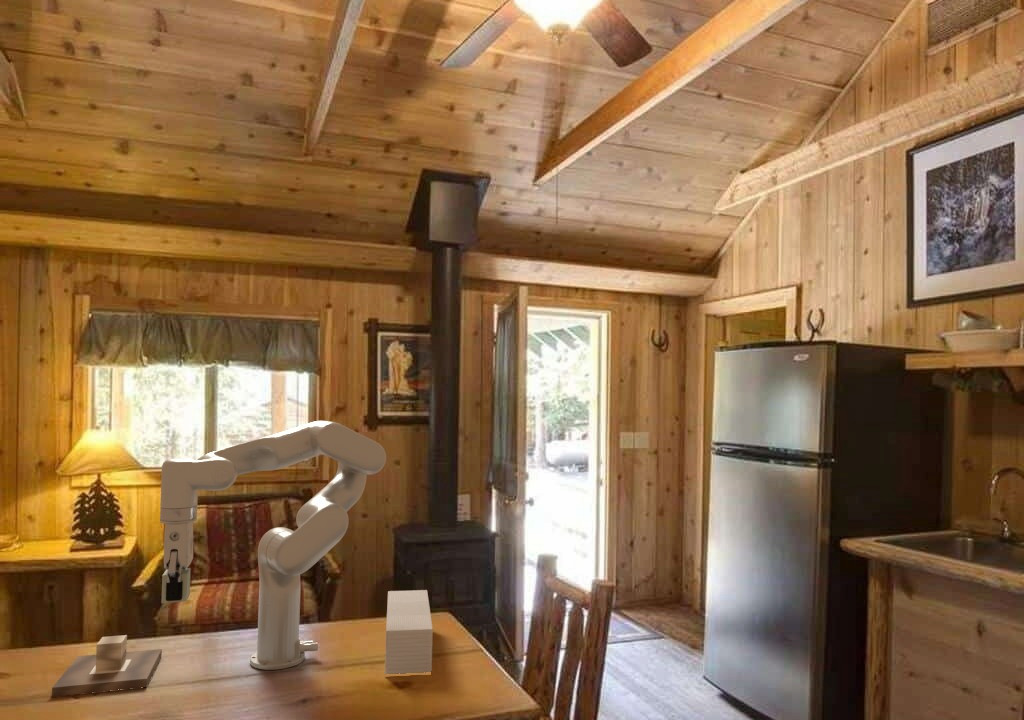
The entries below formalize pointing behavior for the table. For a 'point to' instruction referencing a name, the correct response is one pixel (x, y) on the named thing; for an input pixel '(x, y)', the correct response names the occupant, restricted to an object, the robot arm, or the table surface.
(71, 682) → the walnut board
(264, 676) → the table surface
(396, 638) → the stack of papers
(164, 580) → the sage block
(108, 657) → the maple block
